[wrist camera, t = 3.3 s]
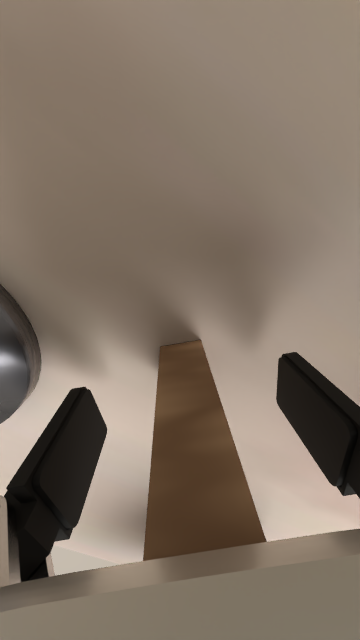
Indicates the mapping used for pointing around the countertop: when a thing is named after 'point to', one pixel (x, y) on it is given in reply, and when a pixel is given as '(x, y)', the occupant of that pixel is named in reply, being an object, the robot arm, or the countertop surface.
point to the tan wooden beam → (194, 464)
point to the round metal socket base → (16, 356)
